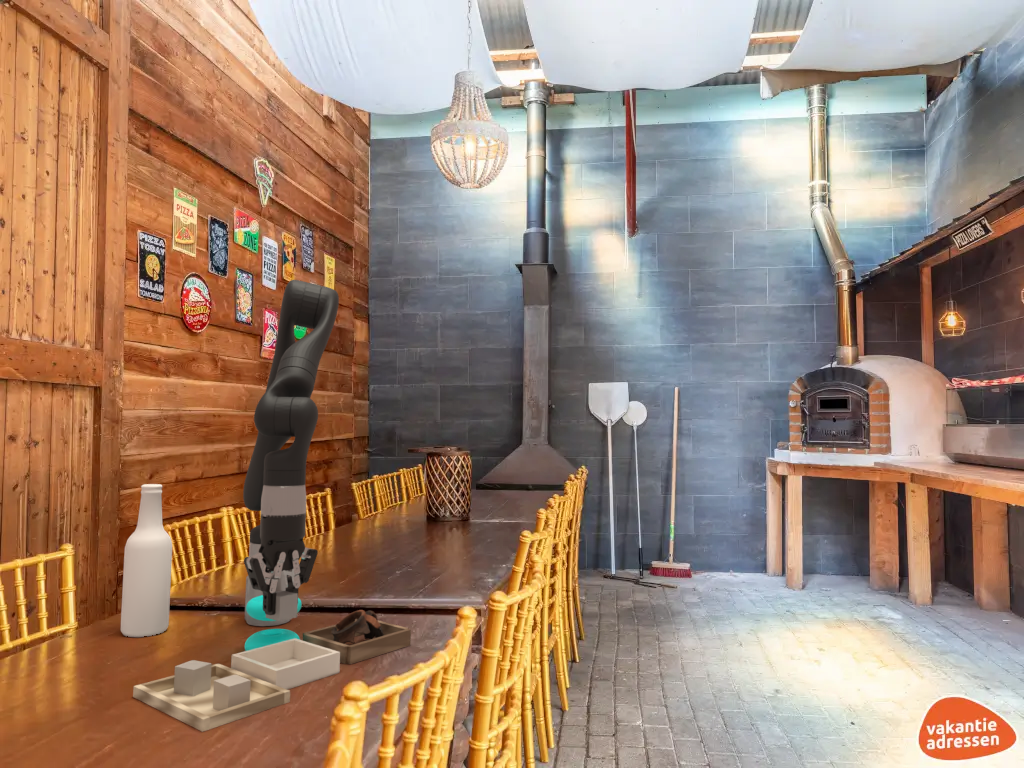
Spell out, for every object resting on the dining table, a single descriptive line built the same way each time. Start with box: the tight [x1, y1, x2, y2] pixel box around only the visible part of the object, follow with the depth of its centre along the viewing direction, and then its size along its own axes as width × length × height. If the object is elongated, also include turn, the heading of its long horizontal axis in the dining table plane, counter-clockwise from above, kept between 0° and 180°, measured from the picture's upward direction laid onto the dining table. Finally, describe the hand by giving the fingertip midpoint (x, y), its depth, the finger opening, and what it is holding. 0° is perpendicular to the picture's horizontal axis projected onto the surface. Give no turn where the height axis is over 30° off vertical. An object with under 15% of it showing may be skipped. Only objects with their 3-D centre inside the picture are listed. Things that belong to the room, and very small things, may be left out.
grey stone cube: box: [174, 659, 213, 696], centre depth 112 cm, size 4×4×4 cm
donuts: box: [244, 595, 302, 651], centre depth 135 cm, size 10×10×10 cm
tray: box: [132, 663, 291, 733], centre depth 109 cm, size 20×14×2 cm
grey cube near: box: [213, 674, 251, 711], centre depth 106 cm, size 4×4×4 cm
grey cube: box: [266, 591, 299, 621], centre depth 123 cm, size 4×4×4 cm
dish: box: [230, 638, 341, 690], centre depth 121 cm, size 13×13×4 cm
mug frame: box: [302, 619, 412, 665], centre depth 138 cm, size 14×16×3 cm
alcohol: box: [120, 483, 173, 638], centre depth 147 cm, size 9×9×30 cm
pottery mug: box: [331, 609, 384, 644], centre depth 138 cm, size 12×10×8 cm
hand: (280, 611), depth 123 cm, fingers closed on grey cube, 3 cm apart
